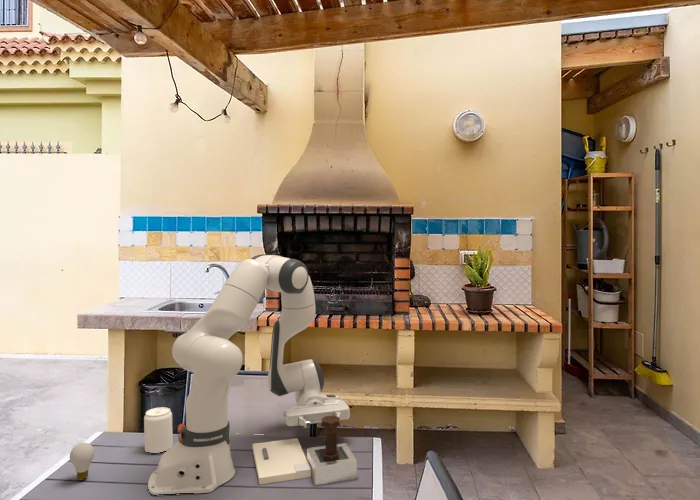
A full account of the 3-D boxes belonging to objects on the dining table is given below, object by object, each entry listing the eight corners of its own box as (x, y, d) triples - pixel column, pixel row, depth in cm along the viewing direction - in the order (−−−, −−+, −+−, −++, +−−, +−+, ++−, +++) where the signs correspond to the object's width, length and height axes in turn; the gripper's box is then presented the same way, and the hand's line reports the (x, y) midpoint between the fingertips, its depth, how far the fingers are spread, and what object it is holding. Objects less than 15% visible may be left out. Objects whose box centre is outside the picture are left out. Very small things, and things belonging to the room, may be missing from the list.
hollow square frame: (315, 485, 126) (315, 466, 126) (307, 465, 137) (307, 448, 137) (357, 478, 130) (357, 460, 129) (345, 459, 141) (345, 443, 140)
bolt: (340, 477, 130) (339, 422, 130) (322, 477, 130) (321, 422, 130) (340, 467, 136) (339, 414, 136) (322, 467, 136) (321, 415, 136)
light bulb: (99, 477, 132) (98, 441, 132) (78, 487, 127) (77, 450, 126) (87, 472, 135) (86, 437, 135) (65, 481, 130) (64, 445, 129)
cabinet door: (259, 484, 127) (259, 475, 127) (252, 449, 148) (252, 441, 148) (311, 476, 131) (310, 467, 131) (297, 443, 152) (297, 435, 152)
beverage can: (142, 456, 144) (142, 417, 144) (146, 445, 152) (145, 408, 152) (171, 453, 146) (170, 414, 146) (173, 442, 154) (173, 405, 154)
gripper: (281, 401, 154) (287, 416, 141) (342, 394, 160) (354, 409, 147) (281, 420, 155) (288, 438, 141) (343, 413, 160) (354, 429, 147)
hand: (322, 423), depth 144 cm, fingers open, 8 cm apart
